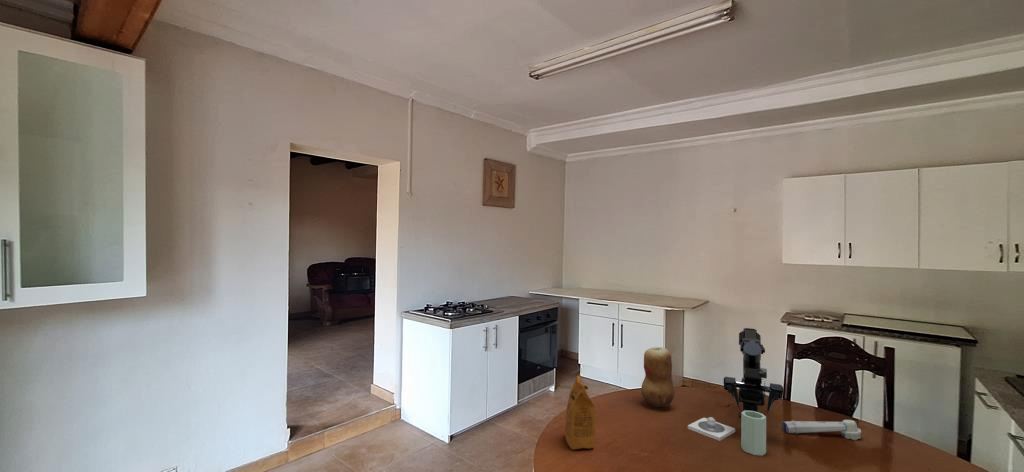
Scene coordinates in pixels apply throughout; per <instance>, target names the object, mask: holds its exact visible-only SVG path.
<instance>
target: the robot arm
mask: <svg viewBox="0 0 1024 472" xmlns="http://www.w3.org/2000/svg"><path fill="white" fill-rule="evenodd" d="M761 338H762V337H761V335H760V334H759V333H758V332H757V329H756V328H749V327H745V328H743V330H742V331H740V332H739V333H738V345H740V347H739V348H740V349H739V350H740V351H739V352H741V354H742V355H743V356H742V357H743V358H742V370H743V371H742V372H743V373H742V377H741V381H740V382H739V381H737V380H736V377H733V376H732V377H730V376H723V390H724V391H727V393H728V394H729V393H730V394H731V397H732V398H733V400H734V403H735V404H736V407H737V408H740V407H739V406H740V404H739V403H742V407H741V408H742V412H743V411H745V410H746V411H755V412H758V413H760V412H759V411H760V407H759V406H761V407H763V406H766V403H765V399H766V395H765V393H768V400H767V406H766V407H767V408H766V409H767V410H766V412H767V414H770V412H771V408H772V406H773V404H774V403H775V401H779V400H782V399H783V397H784V386H783V385H782V384H778V383H772V382H770V383H769V386H765V385H762V384H763V379H767V377H768V370H767V368H761V361H762V355H764V353H766V349H765V347H764V345H763V344H762V342H761ZM764 392H765V393H764ZM738 417H739V418H741V413H740V414H738Z"/></svg>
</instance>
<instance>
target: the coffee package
mask: <svg viewBox="0 0 1024 472" xmlns="http://www.w3.org/2000/svg"><path fill="white" fill-rule="evenodd" d="M582 382H583V379H582V377H581V376H580V375H577V376H576V378H575V380H574V383H573V385H572V388H571V389H570V393H569V395H568V402H567V406H566V412H565V428H564V429H565V430H564V431H565V441H566V444H567V445H568V446H569V447H570V450H580V449H592V448H593V449H594V448H595V439H596V432H597V429H596V428H597V427H596V410H595V408H596V407H595V404H594V402H593V401H592V399H591V398H590V396H589V395H588V393H587V390H589V386H587V385H586V384H585V383H584V384H583V383H582Z"/></svg>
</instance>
